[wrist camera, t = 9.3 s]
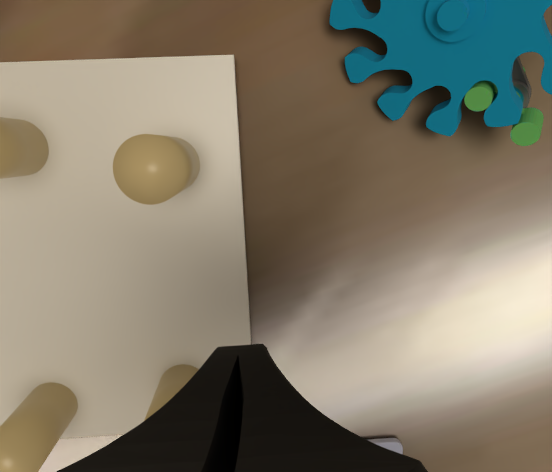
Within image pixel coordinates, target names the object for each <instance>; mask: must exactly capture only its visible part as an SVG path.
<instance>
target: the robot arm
mask: <svg viewBox="0 0 552 472" xmlns="http://www.w3.org/2000/svg"><path fill="white" fill-rule="evenodd" d="M57 472H428V471H427V470H426V469H425V467H424V466H423V465H422V463H421V462H420V461H419V460H416V459H413V458H411V457H408V456H405V455H403V447H402V444H401V442H400V441H399V440H398V439H396V438H383V439H370V440H366V439H364V438H362V437H360V436H358V435H356V434H354V433H352V432H350V431H349V430H347V429H345V428H343V427H342V426H340V425H339V424H337V423H336V422H334V421H333V420H331V419H329V418H328V417H326V416H325V415H324V414H322V413H321V412H320V411H318V410H317V409H316V408H315V407H313V406H312V405H311V404H310V403H309V402H308V401H307V400H306V399H305V398H304V397H302V396H301V394H300V393H299V392H298V391H297V390H296V389H295V388H294V387H293V386H292V385H291V384H290V382H289V381H288V380H287V379H286V378H285V376H284V375H283V374H282V372H281V371H280V370H279V368H278V367H277V366H276V364H275V363H274V361H273V359H272V358H271V356H270V354H269V352H268V350H267V347H265V346H264V345H263V344H252V345H237V346H221V347H217V348H216V349H215V350H214V351H213V353H212V354H211V355H210V356H209V358H208V359H207V360H206V361H205V363H204V364H203V365H202V366H201V367H200V369H199V370H198V371H197V372H196V373H195V374H194V376H193V377H192V378H191V379H190V380H189V381H188V382H187V383H186V384H185V386H184V387H183V388H182V389H181V390H180V391H179V392H178V393H176V394H175V395H174V396H173V397H172V398H171V399H170V400H169V401H168V402H167V403H166V404H165V405H164V406H162V407H161V408H160V409H159V410H158V411H156V412H155V413H154V414H153V415H151V416H150V417H149V418H147V419H146V420H145V421H143V422H142V423H141V424H139V425H138V426H136V427H135V428H133V429H132V430H130V431H129V432H127V433H126V434H124V435H123V436H121V437H119V438H118V439H116V440H115V441H113V442H112V443H110V444H109V445H107V446H105V447H103V448H102V449H100V450H98V451H96V452H94V453H93V454H91V455H89V456H87V457H85V458H83V459H81V460H79V461H77V462H75V463H73V464H71V465H69V466H67V467H65V468H63V469H61V470H59V471H57Z"/></svg>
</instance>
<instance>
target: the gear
mask: <svg viewBox="0 0 552 472" xmlns="http://www.w3.org/2000/svg"><path fill="white" fill-rule="evenodd" d="M380 1H381V8H380V11H379V12H378V13H371V12H369V11H368V10H367V9H366V8H365V6H364V4H363V2H362V0H333V3H332V6H331V12H330V25H331V26H332V27H334V28H335V29H338V30H344V29H347V28H362V29H365V30H368V31H370V32H372V33H374V34H376V35H377V36H379V37H380V38H382V39H383V40H384V41H385V42H386V45H387V54H385V55H378V54H376V53H374V52H373V51H371V50H370V49H368V48H366V47H357V48H355V49H354V50H352V51H351V52H350V53H349V54H348V55H347V56H346V57H345V67H346V71H347V74H348V77H349V79H350V82H353V83H360V82H362V81H364V80H365V79H366V78H367V77H369V76H370V75H372V74H373V73H376V72H378V71H381V70H388V69H396V70H405V71H407V72H408V73H409V74H410V75H411V77H412V84H411V85H409V86H398V85H396V86H391V87H389V88H387V89H386V90H385V92H384V93H383V94H382V95H381V97H380V98H379V99H378V102H377V103H378V105H379V107H380V109H381V110H382V111H383V112H384V113H385V114H386V115H387V116H388V117H389V118H390V119H391V120H392V121H393V120H397V119H399V118H401V117H402V116H403V114H404V113H405V111H406V110H407V108H408V107H409V105H410V102H411V100H412V99H413V98H414V97H416V96H417V95H418V94H420V93H421V92H423V91H425V90H427V89H429V88H431V87H434V86H444V87H446V88H447V89H448V90H449V91H450V93H451V98H450V99H449V100H447V101H444V102H442V103H440V104H438V105H436V106H435V107H434V108H433V110H432V111H431V113H430V115H429V117H428V119H427V121H426V127H427V128H429V129H430V130H432V131H434V132H436V133H439V134H442V135H446V136H451V135H453V134H454V133H455V131H456V129H457V127H458V125H459V123H460V121H461V117H462V114H461V104H462V100H463V97H464V96H465V98H464V102H465V105H466V106H467V107H468V108H469V109H470V110H472V111H483V110H485V109H486V111H485V113H484V121H485V124H486V125H487V126H490V127H503V126H509V125H513V127H512V130H511V139H512V141H513V142H514V143H516V144H517V145H521V146H528V145H531V144H533V143H535V142H536V141H537V140H538V139H539V137H540V134H541V129H542V124H543V114H542V112H541V111H540V110H538V109H536V108H526V107H527V106H528V103H529V100H530V96H531V87H530V84H529V81H528V79H527V76H526V74H525V69H524V67H523V66H522V64H521V61H520V59H519V55H521V54H523V53H525V52H537V53H539V54H540V55H541V56H542V57H543V59H544V62H545V64H544V68H543V72H542V76H541V85H542V87H543V89H544V90H545V91H546V92H547V93H549V94H552V36H551V34H550V32H549V30H548V28H547V25H546V23H545V20H544V16H543V14H544V12H545V10H546V9H547V8H548V7H549V6H551V5H552V0H380Z"/></svg>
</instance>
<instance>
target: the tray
mask: <svg viewBox="0 0 552 472" xmlns="http://www.w3.org/2000/svg"><path fill="white" fill-rule="evenodd" d="M237 345H251V328H250V312H249V295H248V278H247V261H246V244H245V227H244V210H243V193H242V176H241V159H240V142H239V125H238V109H237V92H236V75H235V59H234V55H213V56H183V57H152V58H122V59H92V60H61V61H31V62H1V63H0V472H38V471H39V469H40V468H41V466H42V465H43V463H44V462H45V460H46V458H47V457H48V455H49V454H50V452H51V451H52V449H53V448H54V446H55V445H56V443H57V442H58V440H59V439H68V438H82V437H96V436H109V435H123V434H126V433H127V432H129V431H130V430H132V429H133V428H135V427H136V426H138V425H139V424H141V423H142V422H143V421H145V420H146V419H147V418H149V417H150V416H151V415H153V414H154V413H155V412H156V411H158V410H159V409H160V408H161V407H162V406H164V405H165V404H166V403H167V402H168V401H169V400H170V399H171V398H172V397H173V396H174V395H175V394H176V393H178V392H179V391H180V390H181V389H182V388H183V387H184V386H185V384H186V383H187V382H188V381H189V380H190V379H191V378H192V377H193V376H194V374H195V373H196V372H197V371H198V370H199V369H200V367H201V366H202V365H203V364H204V363H205V361H206V360H207V359H208V358H209V356H210V355H211V354H212V353H213V351H214V350H215V349H216V348H217V347H221V346H237Z"/></svg>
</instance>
